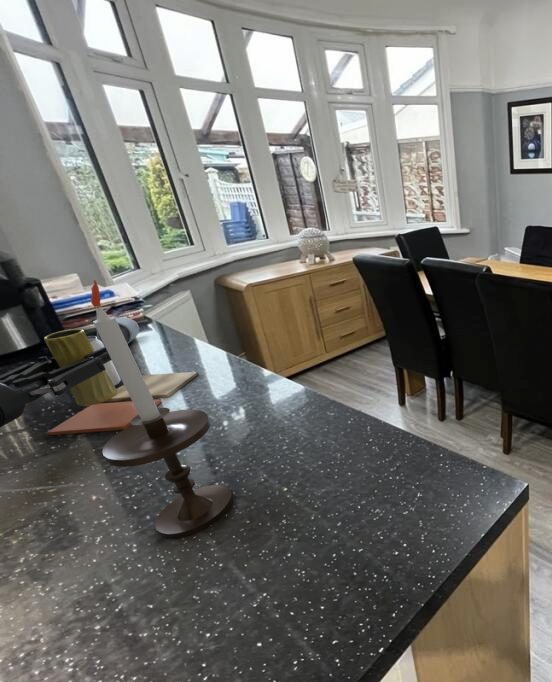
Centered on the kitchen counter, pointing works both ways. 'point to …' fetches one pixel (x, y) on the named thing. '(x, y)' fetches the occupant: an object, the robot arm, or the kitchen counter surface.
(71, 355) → the vase
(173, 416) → the candlestick
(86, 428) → the terracotta mat
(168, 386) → the birch mat
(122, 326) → the ceramic mug
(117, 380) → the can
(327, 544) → the kitchen counter surface
